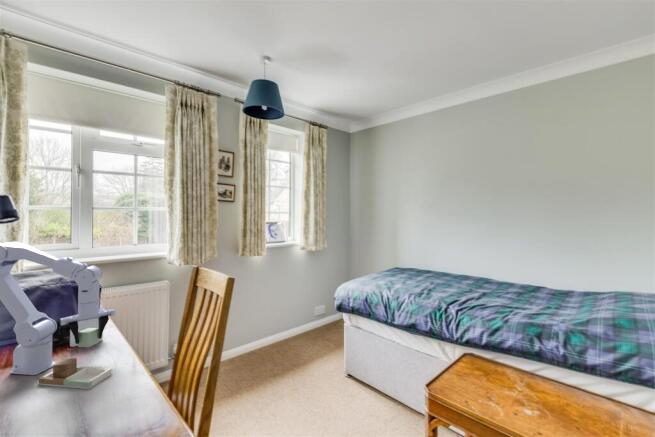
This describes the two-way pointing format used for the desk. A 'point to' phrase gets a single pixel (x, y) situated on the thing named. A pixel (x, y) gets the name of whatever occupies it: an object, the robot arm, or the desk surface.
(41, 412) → the desk surface
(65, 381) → the slot board
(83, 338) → the sage block
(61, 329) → the webcam
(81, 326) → the photo printer
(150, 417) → the desk surface
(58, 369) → the walnut block
